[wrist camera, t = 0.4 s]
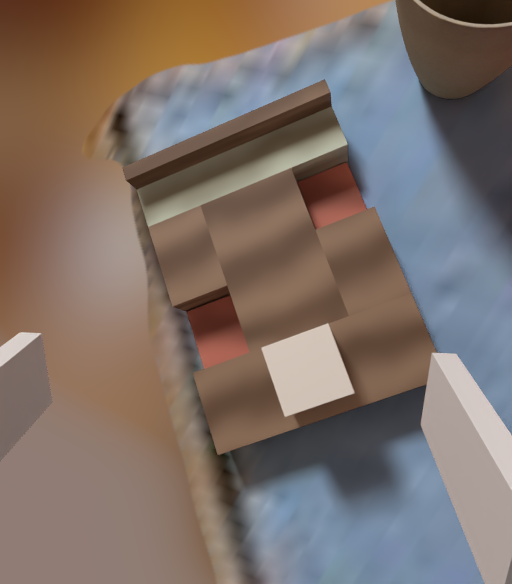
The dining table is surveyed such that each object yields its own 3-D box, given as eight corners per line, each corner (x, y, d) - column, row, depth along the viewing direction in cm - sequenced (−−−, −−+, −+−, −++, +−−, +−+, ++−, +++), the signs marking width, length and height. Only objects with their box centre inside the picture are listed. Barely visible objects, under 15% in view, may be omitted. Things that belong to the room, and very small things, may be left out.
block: (354, 390, 43) (354, 393, 38) (292, 411, 43) (284, 417, 39) (330, 328, 44) (328, 323, 39) (270, 350, 45) (261, 347, 40)
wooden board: (439, 376, 45) (453, 377, 39) (228, 448, 48) (210, 459, 42) (328, 114, 52) (324, 79, 45) (148, 191, 55) (122, 167, 48)
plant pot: (380, 13, 53) (391, -136, 37) (525, -2, 50) (604, -170, 34) (379, 138, 50) (391, 35, 35) (532, 130, 47) (619, 14, 32)
